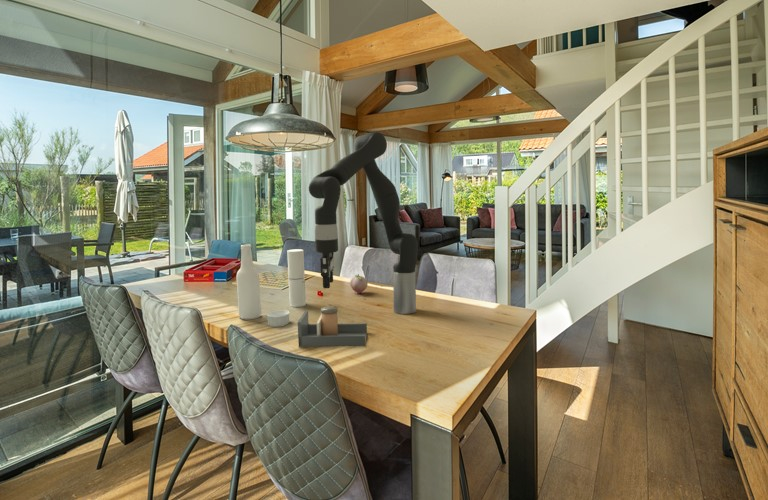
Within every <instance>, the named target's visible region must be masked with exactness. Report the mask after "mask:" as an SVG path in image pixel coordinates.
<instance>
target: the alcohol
mask: <svg viewBox="0 0 768 500" xmlns="http://www.w3.org/2000/svg"><path fill="white" fill-rule="evenodd" d="M240 257H241V258H240V268H239V269H238V270H237V272H236V291H237V304H238V305H237V306H238V316H239V318H240V319H241V320H244V319H245V321H246V320H247V321H249V320H255V318H256V319H258V318H260V317H261V316H262V301H261V299H262V297H261V285H260V274H259V270H258V269H257V268H256V267H255V266H254V261H253V253H252V245H251V244H249V243H246V244H241V245H240Z"/></svg>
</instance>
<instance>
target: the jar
mask: <svg viewBox="0 0 768 500" xmlns="http://www.w3.org/2000/svg"><path fill="white" fill-rule="evenodd" d="M338 308H339V307H337V306H334V305H327V306H323V307H321V308H320V315H321V314H322V335H338V324H339V323H338V321H339V320H338V312H339V311H338Z"/></svg>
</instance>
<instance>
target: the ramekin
mask: <svg viewBox="0 0 768 500" xmlns="http://www.w3.org/2000/svg"><path fill="white" fill-rule="evenodd" d="M265 315H266V318H267V324H268V326H269V327H272V328H273V327H274V328H275V327H278V328H279V327H284V326H287V325H288V324H289V323H290V315H291V313H290V311H289V310H286V309H277V310H272V311H268V312H267V313H266V314H265Z"/></svg>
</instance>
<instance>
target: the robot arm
mask: <svg viewBox="0 0 768 500" xmlns="http://www.w3.org/2000/svg"><path fill="white" fill-rule="evenodd" d="M387 148H388V143H387V140H386V137H385V136H384V134H383V133H381V132H379V131H373V132H369V133H366V134H362V135H359V136H356V138H355V140H354V150H355V151H353V152H352V153H350V154H348V155H346V156H344V157H342V158H341V159H340V160H338V161H336V163H334V164H333V165H332V166H331V168H328V169H326V170H324V171H322V172H320V173H319V174H317V175H315V176H314V177H313V178H311V180H310V182H309V183H308V191H309V192H308V193H309V195H311V197H313V198H315V199H319V200H321V199H323V202H322V205H319V206H317V207H316V208H315V209H314V223H315V226H314V245H315V252H316V253H319V254H322V257H320V259H319V260H320V276H321V277H322V288H323V289H329V288H330V287H331V283H333V282H334V269H335V257H334V255H335V254H334V253H336V252H338V251H339V232H338V226H337V220H338V219H337V209H338V205H339V201H340V196H341V192H342V191H341V189H342V188H341V187H342V186H343V185H345V184H346V183H347V182H348V181H349V180H351V179H352V177H354V176H355V175H356V174H357V173H358V172H359V171H360V170H361V169H363V171H364V174H365V175H366V178H367V181H368V183H369V185H370V188H371V191H372V195H373V198H374V200H375V203H376V206H377V208H378V212H379V214H380V217H381V220H382V223H383V227H384V230H385V235H386V238H387V242H388V247H389V249H390V251H391V252H392V253H394V254H395V255H399V261H398V262H397V263H394V264H393V268H392V269H393V270H392V271H393V273H392V275H393V276H392V278H393V280H392V281H393V282H392V283H393V312H394V313H396V314H400V315H409V314H414V313H416V312H417V304H416V303H417V291H416V268H417V265H418V254H419V251H418V249H419V242H418V239H417V237H416V235H414V234H412V233H405V232H404V231H403V230H402V227H401V225H400V221H399V215H400V207H401V203H400V197H399V193H398V192H397V189H396V186H395V184H394V183H393V182H392V180H390V179H389V178H388V177H387V176H386V175H385V173H383V172H382V171H381V169H380V168H379V166H378V164H377V162H376V159H378V158H380V157H381V156H383V155H384V154H385V153H386V151H387Z"/></svg>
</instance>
